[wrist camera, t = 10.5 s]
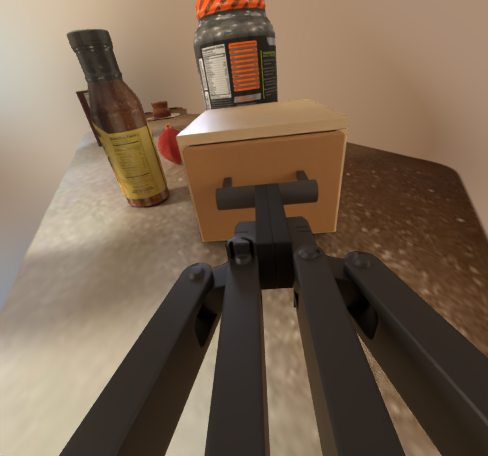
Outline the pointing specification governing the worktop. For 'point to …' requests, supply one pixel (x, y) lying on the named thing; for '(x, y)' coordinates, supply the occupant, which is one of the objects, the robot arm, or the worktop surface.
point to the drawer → (265, 179)
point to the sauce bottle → (119, 120)
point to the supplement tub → (235, 53)
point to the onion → (169, 144)
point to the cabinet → (261, 127)
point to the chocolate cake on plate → (161, 111)
